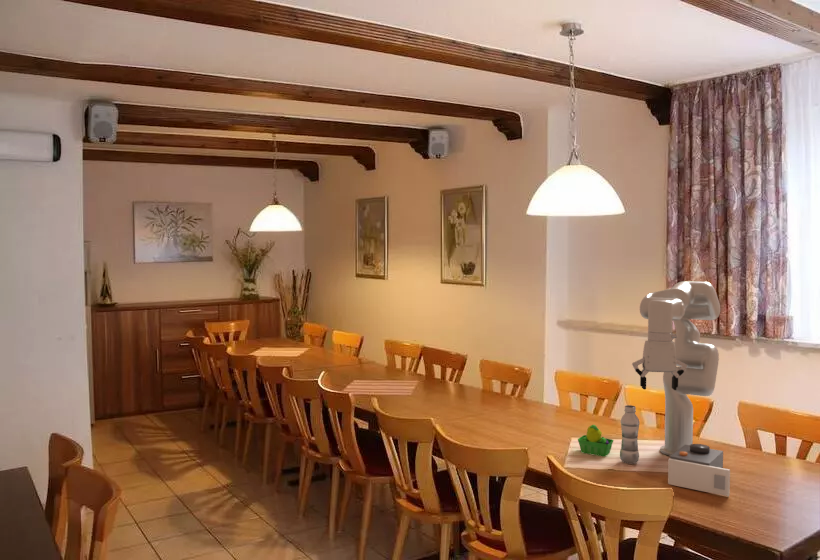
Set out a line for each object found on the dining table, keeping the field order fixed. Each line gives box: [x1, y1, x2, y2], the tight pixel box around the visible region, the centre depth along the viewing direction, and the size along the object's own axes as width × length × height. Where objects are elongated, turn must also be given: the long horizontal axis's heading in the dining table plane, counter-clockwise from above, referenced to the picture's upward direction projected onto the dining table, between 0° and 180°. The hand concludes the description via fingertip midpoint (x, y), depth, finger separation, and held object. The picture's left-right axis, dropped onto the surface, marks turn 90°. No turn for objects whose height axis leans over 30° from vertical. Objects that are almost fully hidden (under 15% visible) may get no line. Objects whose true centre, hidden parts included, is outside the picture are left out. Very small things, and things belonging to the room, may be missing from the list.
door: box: [667, 457, 731, 497], centre depth 216 cm, size 2×18×8 cm, turn 52°
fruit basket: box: [577, 424, 615, 458], centre depth 255 cm, size 11×9×11 cm
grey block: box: [669, 443, 724, 468], centre depth 225 cm, size 16×12×11 cm
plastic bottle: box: [619, 404, 640, 465], centre depth 243 cm, size 6×7×20 cm
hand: (658, 389), depth 229 cm, fingers open, 9 cm apart
